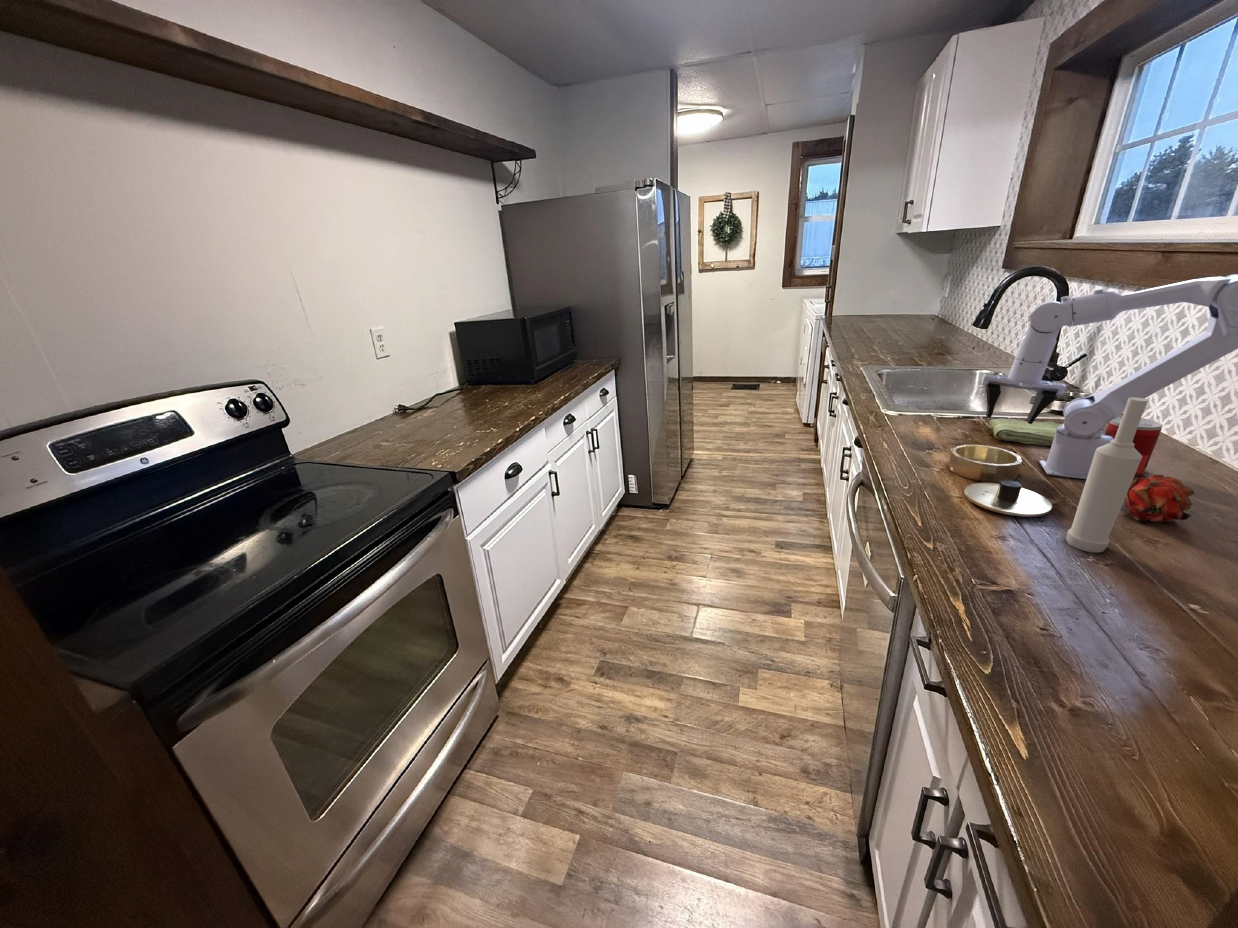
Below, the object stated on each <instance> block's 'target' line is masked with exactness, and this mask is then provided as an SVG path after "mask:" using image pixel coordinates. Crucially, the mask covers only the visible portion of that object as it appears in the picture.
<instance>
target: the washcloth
mask: <svg viewBox="0 0 1238 928" xmlns="http://www.w3.org/2000/svg"><path fill="white" fill-rule="evenodd" d="M1062 424H1063V423H1062ZM1062 424H1060V423H1056V422H1049V421H1035V420H1034V422H1033V423H1032V424H1028V423H1027V420H1021V419H1015V418H1010V419H1009V418H992V419H991V420H989V426H990V428H991V431H992V432H993V437H994V438H995V439H997V440H1000V441H1005V442H1015V443H1016V442H1017V443H1021V444H1023V445H1024V444H1028V445H1029V444H1030V445H1039V446H1048V447H1049V446H1052V443H1053V440H1054V436H1055V433H1056V430H1057V427H1059V426H1061V425H1062Z"/></svg>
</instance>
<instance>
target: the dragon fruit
mask: <svg viewBox="0 0 1238 928" xmlns="http://www.w3.org/2000/svg"><path fill="white" fill-rule="evenodd" d="M1194 494H1195V491H1194V490H1193V488H1192V487H1190V486H1188V485H1185V484H1184V483H1183V482H1182V480H1180V479H1179V478H1177V477H1174V476H1164V475H1163V474H1158V473H1155V474H1152V475H1149V476H1148V477H1147V478H1144V477H1138V478H1135V479H1133V480H1132V483H1131V485H1130V487H1129V490H1128V492H1127V495H1126V497H1125V499H1124V506H1125V508H1126V509H1129V513H1130V514H1131V515H1132V516H1131V517H1132V518H1133V519H1134V520H1135V521H1138V522H1140V523H1142V521H1143V522H1148V521H1150V522H1156V523H1161V522H1164V523H1169V522H1172V521H1175V520H1178V521H1186V520H1188V519H1189V518H1192V517H1193V515H1192V514H1191V513H1188V512H1186V511H1189V510H1190V509H1191V508H1192V507H1191V506H1193V504H1194V503H1193V502H1192V500H1191V498H1190V497H1192V495H1194Z"/></svg>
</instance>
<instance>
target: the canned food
mask: <svg viewBox="0 0 1238 928" xmlns="http://www.w3.org/2000/svg"><path fill="white" fill-rule="evenodd" d="M1122 417H1123V416H1118V417H1117V418H1115V419H1113V420H1112V421H1110V422H1109V423H1107V425H1106V429H1105V431H1104V434H1103V435H1107V436H1111V437H1113V439H1115V436H1116V434H1117V431H1118V428H1119V425H1120V422H1121V420H1122ZM1162 428H1163V424H1162V423H1160V422H1158V421H1155V420H1153V419H1148V418H1142V417H1141V419H1140V422H1139V425H1138V428H1137V430H1136V433H1135V436H1134V438H1133V441H1132V442H1133V443H1134V444H1135V445H1134V448H1135V449H1136V450H1137V451H1138V452H1139V453H1140V454H1141V455H1142V459H1141V461H1140V463H1139V466H1138V468H1137V471H1136V473H1135V475H1134V477H1136V476H1137V477H1138V476H1141V475H1142V474H1144V473H1145V472H1146V468H1147V467H1148V464H1149V461H1150V459H1151V457H1152V455H1153V452H1154V449H1155V447H1156V444H1157V442H1158V440H1159V437H1160V435H1161V432H1162Z"/></svg>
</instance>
